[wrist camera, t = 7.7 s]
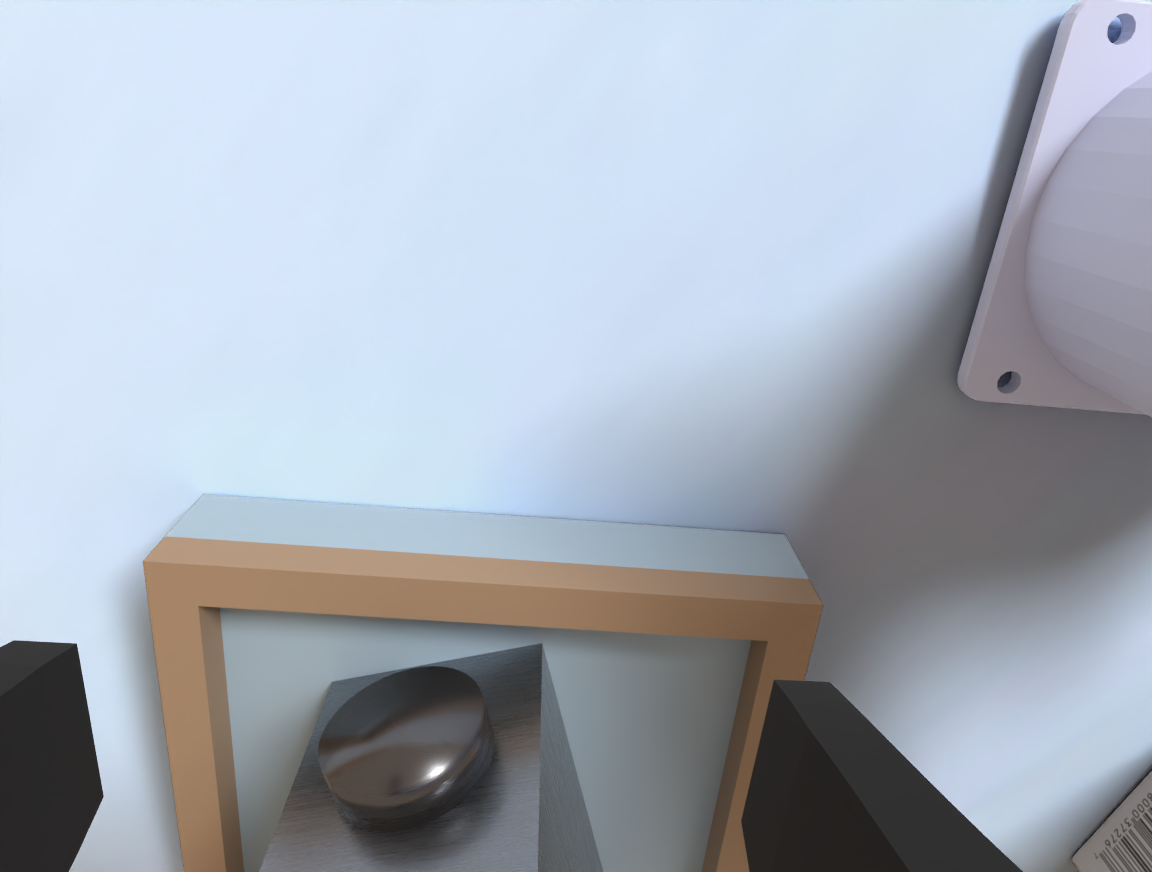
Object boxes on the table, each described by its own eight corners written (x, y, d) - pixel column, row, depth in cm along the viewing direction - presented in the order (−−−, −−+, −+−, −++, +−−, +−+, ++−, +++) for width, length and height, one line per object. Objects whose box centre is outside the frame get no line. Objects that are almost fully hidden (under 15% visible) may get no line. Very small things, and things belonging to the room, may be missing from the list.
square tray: (785, 534, 20) (823, 605, 17) (698, 924, 25) (717, 1026, 22) (203, 493, 19) (142, 560, 16) (242, 906, 24) (202, 1010, 21)
